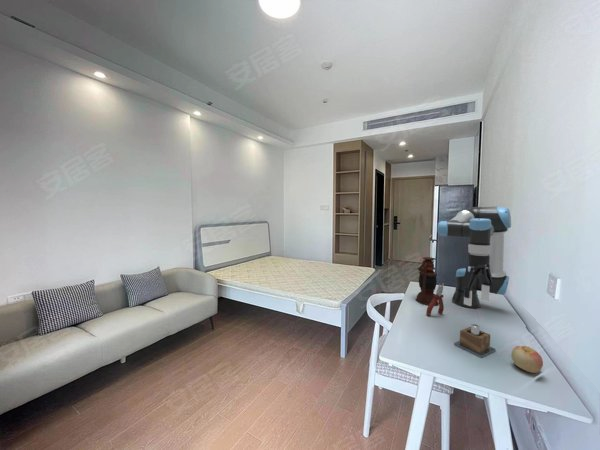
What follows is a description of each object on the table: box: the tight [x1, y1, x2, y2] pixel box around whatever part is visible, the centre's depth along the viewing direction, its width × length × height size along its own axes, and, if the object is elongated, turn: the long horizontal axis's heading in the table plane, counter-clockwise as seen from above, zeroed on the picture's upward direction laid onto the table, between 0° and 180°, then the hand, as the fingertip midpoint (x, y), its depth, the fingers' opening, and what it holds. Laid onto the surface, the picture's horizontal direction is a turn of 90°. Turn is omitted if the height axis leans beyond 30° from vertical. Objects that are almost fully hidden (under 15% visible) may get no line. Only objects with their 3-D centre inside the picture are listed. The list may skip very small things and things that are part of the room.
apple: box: [510, 345, 544, 374], centre depth 92 cm, size 9×9×8 cm
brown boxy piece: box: [459, 326, 491, 353], centre depth 106 cm, size 8×8×6 cm
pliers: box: [426, 282, 445, 317], centre depth 138 cm, size 12×20×3 cm
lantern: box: [415, 256, 439, 307], centre depth 158 cm, size 17×14×30 cm
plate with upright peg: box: [453, 323, 496, 359], centre depth 106 cm, size 11×11×10 cm
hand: (476, 302), depth 105 cm, fingers open, 13 cm apart
